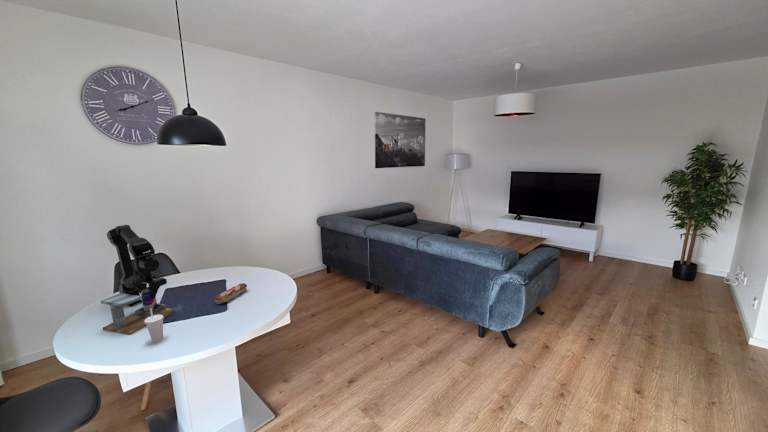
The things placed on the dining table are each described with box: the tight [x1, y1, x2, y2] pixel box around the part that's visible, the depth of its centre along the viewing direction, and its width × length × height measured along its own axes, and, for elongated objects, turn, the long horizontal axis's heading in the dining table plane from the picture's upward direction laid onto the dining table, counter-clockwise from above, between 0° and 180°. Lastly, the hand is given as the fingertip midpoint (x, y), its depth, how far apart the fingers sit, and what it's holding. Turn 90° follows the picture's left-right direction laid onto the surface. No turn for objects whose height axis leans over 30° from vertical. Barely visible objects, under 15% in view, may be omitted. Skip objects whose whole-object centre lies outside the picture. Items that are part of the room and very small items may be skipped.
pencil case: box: [213, 282, 248, 305], centre depth 169 cm, size 11×20×5 cm, turn 150°
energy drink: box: [140, 289, 158, 312], centre depth 151 cm, size 5×5×12 cm
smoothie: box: [145, 308, 165, 343], centre depth 129 cm, size 6×6×14 cm
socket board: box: [100, 293, 175, 336], centre depth 145 cm, size 16×21×14 cm
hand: (148, 298), depth 150 cm, fingers closed on energy drink, 5 cm apart
